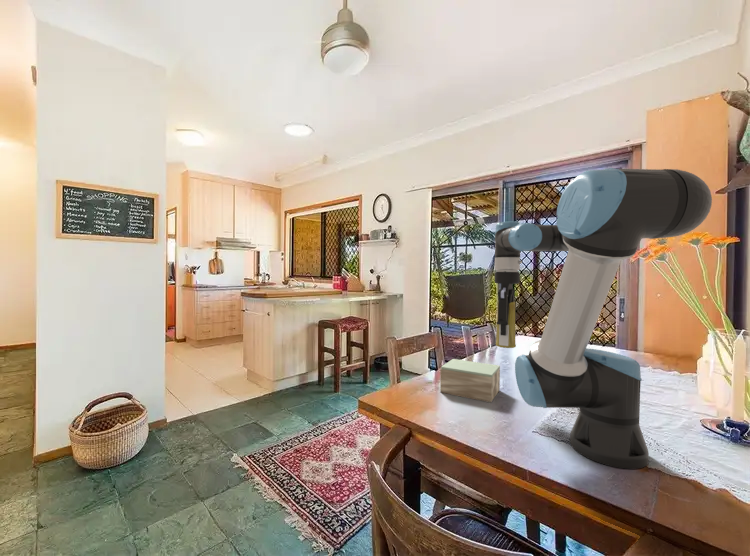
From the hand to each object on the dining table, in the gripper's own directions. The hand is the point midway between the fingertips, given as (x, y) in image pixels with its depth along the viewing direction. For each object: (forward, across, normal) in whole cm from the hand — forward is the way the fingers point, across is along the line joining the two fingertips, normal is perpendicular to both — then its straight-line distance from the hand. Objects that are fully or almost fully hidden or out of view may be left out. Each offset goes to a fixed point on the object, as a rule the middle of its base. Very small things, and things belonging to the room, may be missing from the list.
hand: (505, 343), depth 109 cm
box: (+19, +3, +12) cm, 23 cm away
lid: (+11, +4, +12) cm, 17 cm away
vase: (+1, 0, 0) cm, 1 cm away
